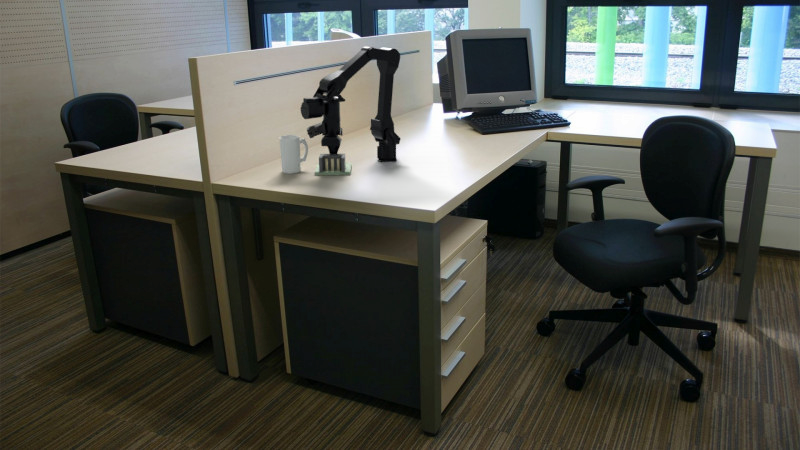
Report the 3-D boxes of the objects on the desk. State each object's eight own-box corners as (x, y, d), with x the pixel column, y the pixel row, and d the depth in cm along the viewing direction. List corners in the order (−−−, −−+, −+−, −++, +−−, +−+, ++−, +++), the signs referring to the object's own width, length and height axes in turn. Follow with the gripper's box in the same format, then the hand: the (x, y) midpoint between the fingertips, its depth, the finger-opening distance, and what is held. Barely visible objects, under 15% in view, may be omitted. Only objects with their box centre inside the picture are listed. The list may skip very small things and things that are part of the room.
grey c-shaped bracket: (320, 167, 228) (320, 153, 226) (345, 167, 228) (345, 153, 226) (319, 172, 222) (318, 158, 220) (344, 172, 222) (344, 157, 220)
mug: (286, 174, 223) (284, 140, 219) (278, 170, 228) (276, 136, 224) (313, 170, 228) (311, 136, 224) (304, 166, 234) (303, 132, 229)
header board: (351, 165, 235) (351, 151, 233) (350, 174, 223) (349, 160, 222) (317, 165, 234) (316, 152, 232) (314, 175, 223) (314, 160, 221)
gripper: (310, 110, 232) (312, 154, 237) (304, 121, 214) (307, 168, 220) (342, 110, 232) (343, 153, 237) (339, 121, 215) (340, 167, 220)
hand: (333, 160), depth 229 cm, fingers closed
